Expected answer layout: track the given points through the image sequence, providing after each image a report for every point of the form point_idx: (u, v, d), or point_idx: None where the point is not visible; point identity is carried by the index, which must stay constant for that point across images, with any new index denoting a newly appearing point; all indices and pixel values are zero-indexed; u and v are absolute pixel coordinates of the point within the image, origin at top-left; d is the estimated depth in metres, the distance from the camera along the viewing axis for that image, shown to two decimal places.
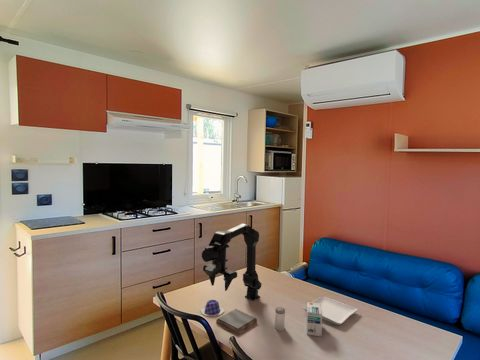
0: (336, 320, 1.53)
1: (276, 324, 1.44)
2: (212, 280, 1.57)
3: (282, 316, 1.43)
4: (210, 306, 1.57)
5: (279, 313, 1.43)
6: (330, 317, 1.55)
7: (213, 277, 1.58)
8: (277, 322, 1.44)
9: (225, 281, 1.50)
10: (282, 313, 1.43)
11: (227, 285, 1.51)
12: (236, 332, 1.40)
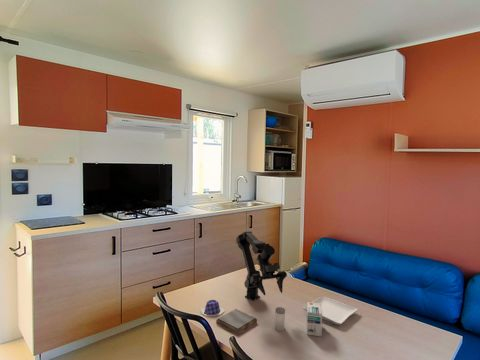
0: (336, 320, 1.53)
1: (276, 324, 1.44)
2: None
3: (282, 316, 1.43)
4: (210, 306, 1.57)
5: (279, 313, 1.43)
6: (330, 317, 1.55)
7: None
8: (277, 322, 1.44)
9: (281, 280, 1.56)
10: (282, 313, 1.43)
11: None
12: (236, 332, 1.40)
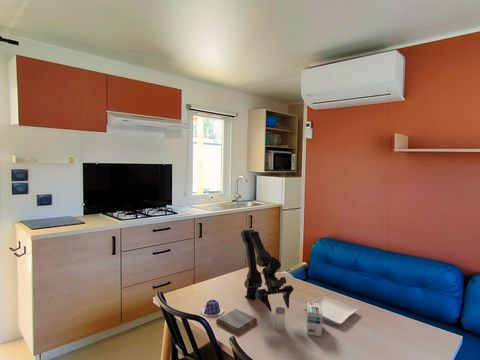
0: (336, 320, 1.53)
1: (276, 324, 1.44)
2: None
3: (282, 316, 1.43)
4: (210, 306, 1.57)
5: (279, 313, 1.43)
6: (330, 317, 1.55)
7: None
8: (277, 322, 1.44)
9: (287, 296, 1.50)
10: (282, 313, 1.43)
11: None
12: (236, 332, 1.40)
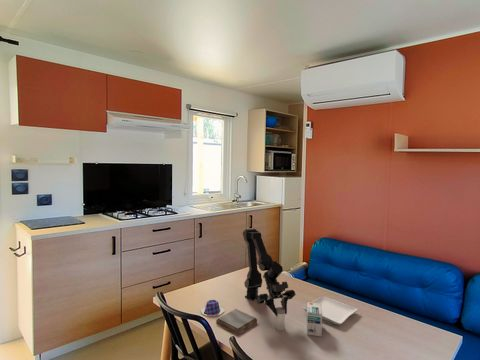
0: (336, 320, 1.53)
1: (276, 324, 1.44)
2: None
3: (282, 316, 1.43)
4: (209, 306, 1.57)
5: (279, 313, 1.43)
6: (330, 317, 1.55)
7: None
8: (277, 322, 1.44)
9: (285, 301, 1.47)
10: (282, 313, 1.43)
11: None
12: (236, 332, 1.40)
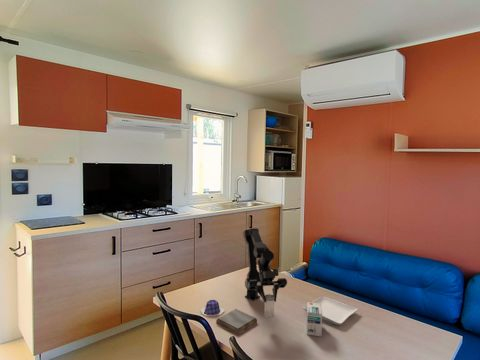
0: (336, 320, 1.53)
1: (265, 311, 1.44)
2: None
3: (271, 303, 1.42)
4: (209, 306, 1.57)
5: (268, 300, 1.42)
6: (330, 317, 1.55)
7: None
8: (266, 309, 1.43)
9: (275, 288, 1.46)
10: (271, 300, 1.42)
11: None
12: (236, 332, 1.40)
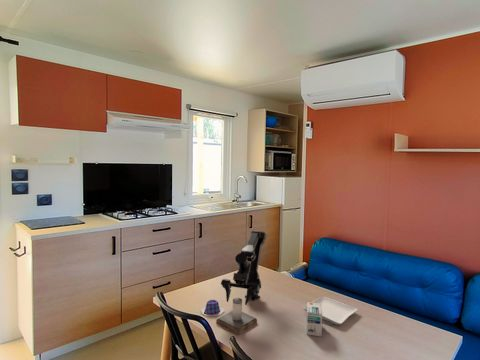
0: (336, 320, 1.53)
1: None
2: (228, 296, 1.50)
3: (236, 306, 1.46)
4: (209, 306, 1.57)
5: (233, 302, 1.47)
6: (330, 317, 1.55)
7: (229, 294, 1.51)
8: (232, 311, 1.48)
9: (249, 292, 1.48)
10: (236, 303, 1.46)
11: (248, 298, 1.47)
12: (236, 332, 1.40)
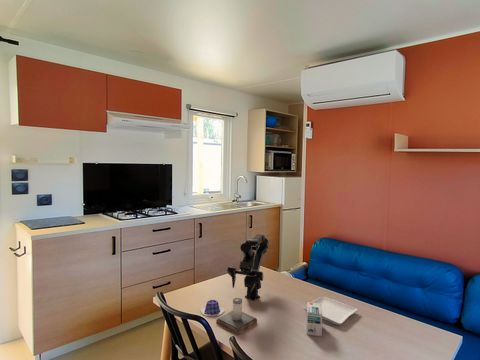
0: (336, 320, 1.53)
1: (232, 313, 1.49)
2: (234, 282, 1.58)
3: (236, 306, 1.46)
4: (208, 306, 1.57)
5: (233, 302, 1.47)
6: (330, 317, 1.55)
7: (234, 280, 1.60)
8: (232, 311, 1.48)
9: (254, 280, 1.56)
10: (236, 303, 1.46)
11: (253, 285, 1.56)
12: (236, 332, 1.40)
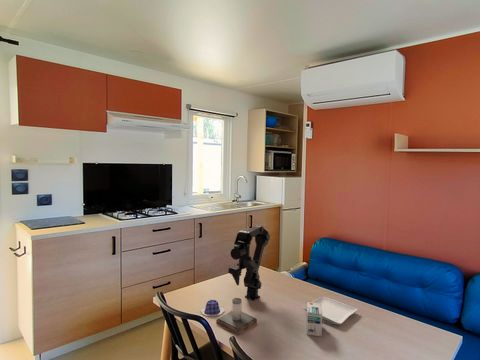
0: (336, 320, 1.53)
1: (232, 313, 1.49)
2: None
3: (235, 306, 1.46)
4: (208, 305, 1.58)
5: (233, 303, 1.47)
6: (330, 317, 1.55)
7: None
8: (232, 311, 1.48)
9: None
10: (235, 303, 1.46)
11: None
12: (236, 332, 1.40)
